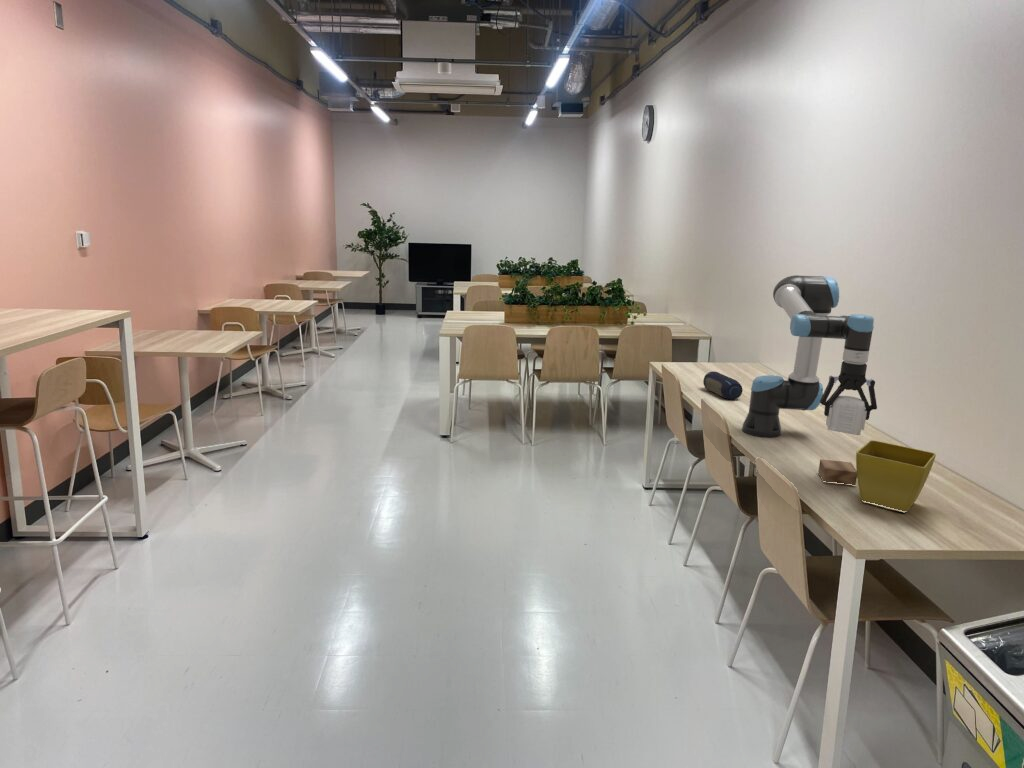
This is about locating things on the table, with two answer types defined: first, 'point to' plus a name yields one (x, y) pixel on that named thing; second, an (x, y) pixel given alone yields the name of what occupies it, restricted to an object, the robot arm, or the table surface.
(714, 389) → the portable speaker
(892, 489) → the flower pot
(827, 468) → the walnut block
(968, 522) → the table surface
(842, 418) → the photo printer
